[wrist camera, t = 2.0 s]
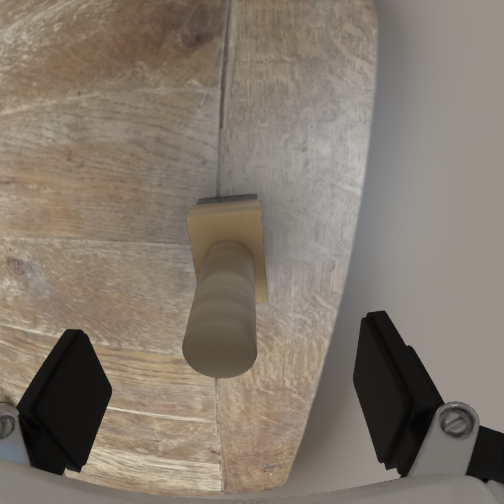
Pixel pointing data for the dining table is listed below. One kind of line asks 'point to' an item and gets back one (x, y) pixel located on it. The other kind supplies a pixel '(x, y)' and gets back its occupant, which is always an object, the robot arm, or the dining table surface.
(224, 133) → the dining table surface
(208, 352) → the wooden stamp
